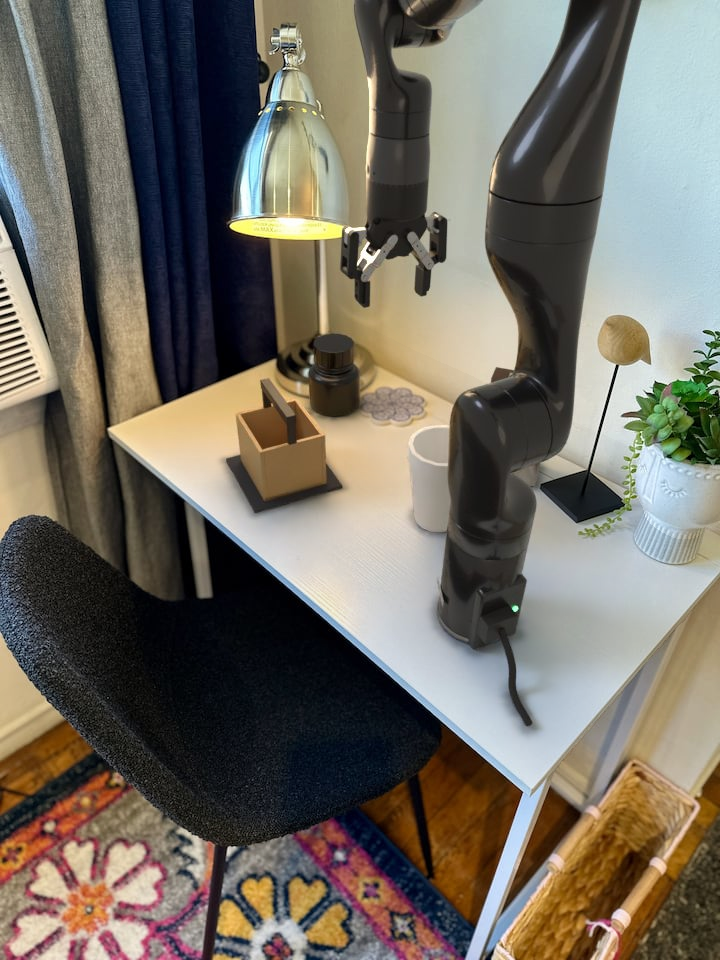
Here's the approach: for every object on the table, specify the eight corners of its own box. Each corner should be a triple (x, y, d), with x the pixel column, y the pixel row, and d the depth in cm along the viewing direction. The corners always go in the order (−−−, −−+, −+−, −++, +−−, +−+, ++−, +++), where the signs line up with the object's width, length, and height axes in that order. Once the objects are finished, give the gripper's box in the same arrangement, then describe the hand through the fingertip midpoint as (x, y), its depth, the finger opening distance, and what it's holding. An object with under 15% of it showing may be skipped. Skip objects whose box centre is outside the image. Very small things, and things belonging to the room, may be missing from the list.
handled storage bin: (326, 483, 110) (324, 407, 101) (264, 501, 106) (256, 424, 98) (299, 445, 117) (295, 371, 109) (240, 460, 114) (232, 386, 105)
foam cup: (392, 525, 103) (396, 452, 95) (419, 489, 109) (425, 418, 101) (454, 548, 99) (464, 474, 91) (478, 509, 106) (489, 437, 98)
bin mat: (342, 487, 110) (342, 485, 109) (254, 513, 105) (254, 511, 104) (307, 438, 119) (307, 437, 119) (226, 460, 115) (225, 458, 114)
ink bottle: (342, 384, 133) (342, 325, 125) (371, 405, 127) (372, 345, 120) (298, 401, 128) (295, 340, 121) (325, 423, 123) (324, 361, 115)
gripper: (357, 189, 81) (356, 321, 91) (465, 174, 86) (452, 301, 96) (330, 171, 86) (332, 298, 96) (433, 158, 91) (425, 280, 101)
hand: (392, 299), depth 96 cm, fingers open, 8 cm apart
